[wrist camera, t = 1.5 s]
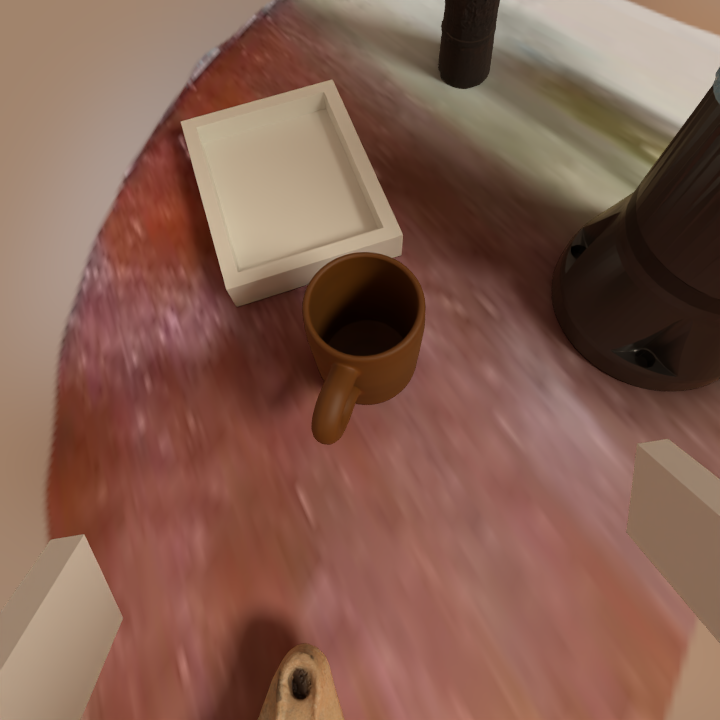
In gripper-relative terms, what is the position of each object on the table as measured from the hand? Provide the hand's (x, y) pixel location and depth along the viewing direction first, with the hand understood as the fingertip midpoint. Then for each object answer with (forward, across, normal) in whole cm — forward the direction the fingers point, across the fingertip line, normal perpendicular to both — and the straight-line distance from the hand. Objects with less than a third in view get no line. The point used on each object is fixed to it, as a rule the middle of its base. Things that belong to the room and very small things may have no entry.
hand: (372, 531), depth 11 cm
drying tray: (+37, -3, +6) cm, 37 cm away
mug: (+24, +1, -8) cm, 25 cm away
